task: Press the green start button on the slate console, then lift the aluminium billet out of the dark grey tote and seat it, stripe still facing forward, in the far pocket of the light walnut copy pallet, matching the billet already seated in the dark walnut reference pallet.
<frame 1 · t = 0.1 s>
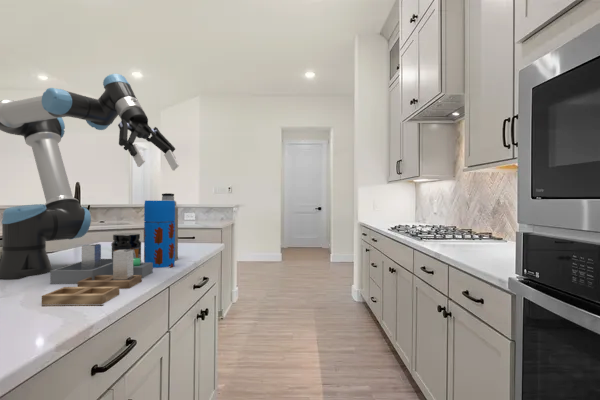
hand: (159, 166, 114), 36 cm above the counter, tool tilted 35°, fingers open, 13 cm apart
tote: (91, 278, 118), on the counter
billet: (91, 276, 118), point 1 cm above the counter, touching tote
pallets: (97, 293, 99), on the counter
start button: (133, 263, 120), point 5 cm above the counter, slide at 0.0 cm
supplement container: (126, 265, 142), on the counter
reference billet: (123, 285, 107), resting on pallets
thermos: (159, 267, 139), on the counter
thermos bottle: (167, 260, 155), on the counter
console: (133, 277, 120), on the counter
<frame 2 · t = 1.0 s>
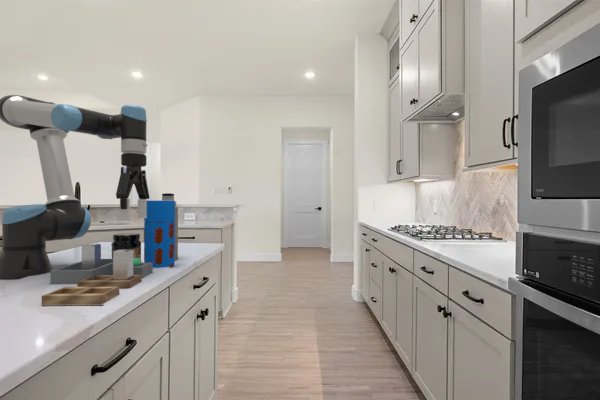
hand: (134, 219, 120), 19 cm above the counter, tool pointing down, fingers open, 13 cm apart
nothing on the counter moved.
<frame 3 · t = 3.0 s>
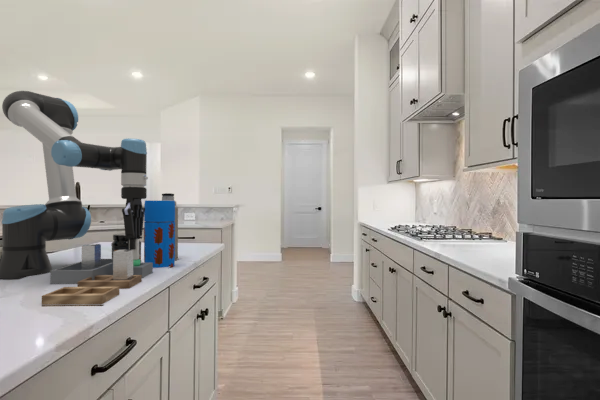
hand: (134, 259, 120), 6 cm above the counter, tool pointing down, fingers closed
start button: (133, 264, 120), point 4 cm above the counter, slide at 0.4 cm, touching gripper
everything else where it was.
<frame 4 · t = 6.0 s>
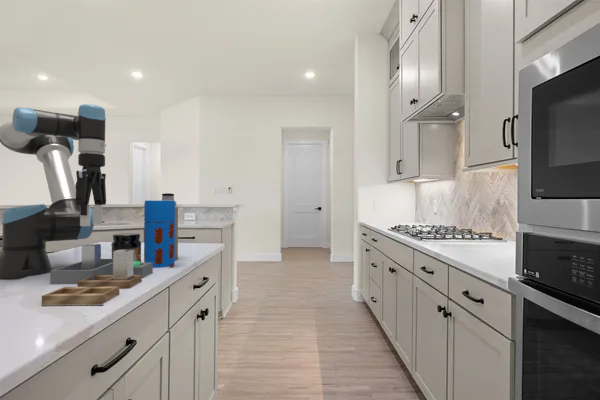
hand: (91, 225, 119), 17 cm above the counter, tool pointing down, fingers open, 7 cm apart
start button: (133, 266, 120), point 3 cm above the counter, slide at 1.0 cm
everything else where it was.
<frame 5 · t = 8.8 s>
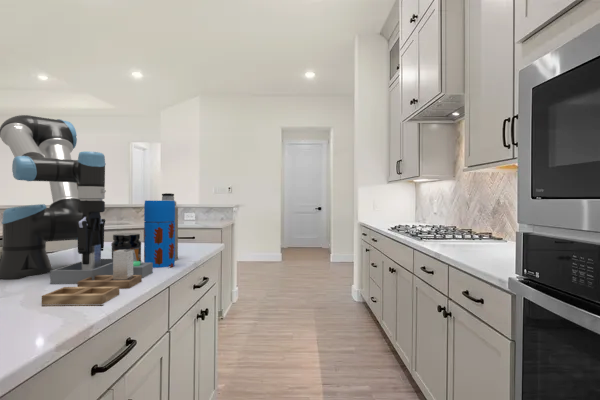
hand: (91, 272, 118), 2 cm above the counter, tool pointing down, fingers closed on billet, 4 cm apart
billet: (91, 276, 118), point 1 cm above the counter, touching gripper, tote
everything else where it was.
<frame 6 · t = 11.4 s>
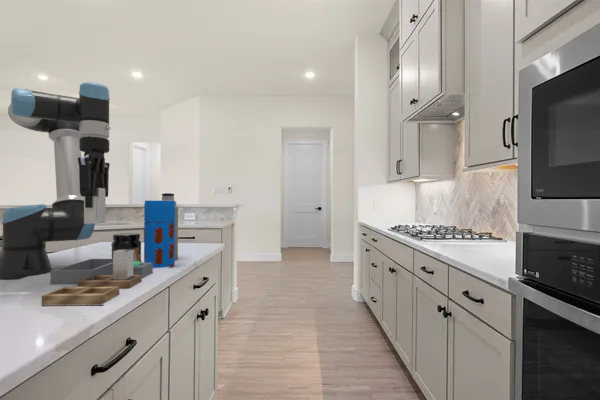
hand: (94, 219, 105), 20 cm above the counter, tool pointing down, fingers closed on billet, 4 cm apart
billet: (94, 223, 105), point 18 cm above the counter, touching gripper
everything else where it was.
when the fingers open (4 cm above the counter, at t = 14.4 s): billet drops 2 cm, resting on pallets.
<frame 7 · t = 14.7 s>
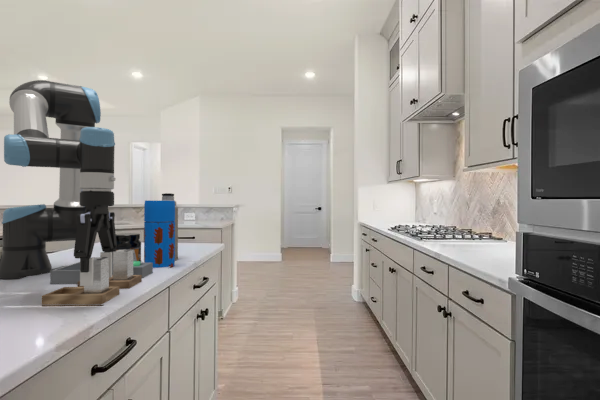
hand: (96, 281, 92), 5 cm above the counter, tool pointing down, fingers open, 9 cm apart
billet: (96, 298, 92), point 1 cm above the counter, touching pallets
everything else where it was.
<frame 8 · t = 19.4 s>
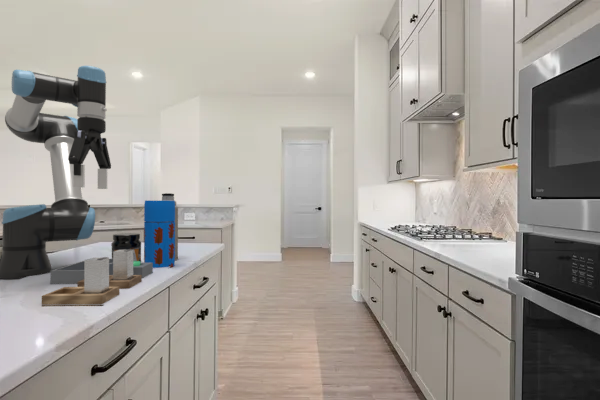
hand: (91, 188, 113), 29 cm above the counter, tool pointing down, fingers open, 13 cm apart
nothing on the counter moved.
at the end: billet 0.0 cm from the target spot on the pallets, point 0.5 cm above the pallets's base; billet tilted 0°; start button slide at 1.0 cm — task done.
